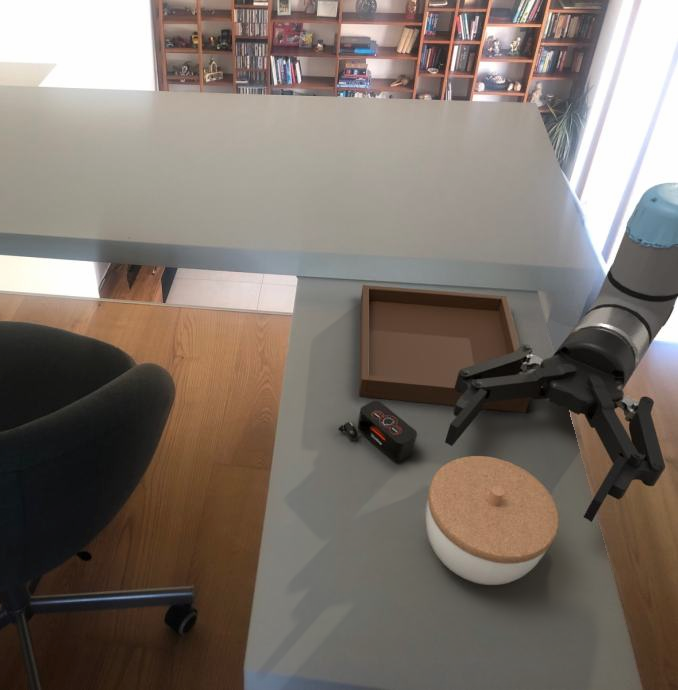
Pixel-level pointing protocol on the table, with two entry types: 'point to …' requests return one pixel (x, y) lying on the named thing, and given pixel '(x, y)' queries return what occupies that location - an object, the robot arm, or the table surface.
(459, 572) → the trinket box
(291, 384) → the table surface
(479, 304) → the tray
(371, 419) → the wireless earbuds
